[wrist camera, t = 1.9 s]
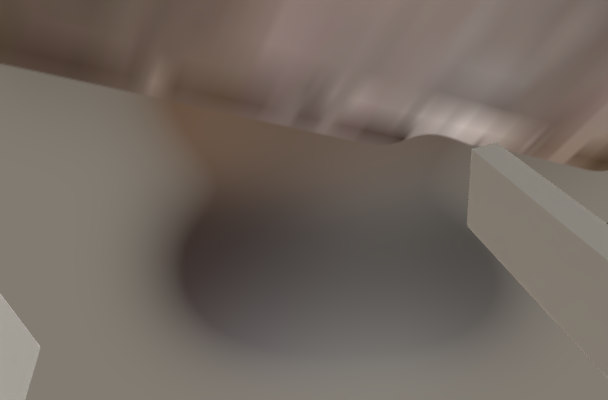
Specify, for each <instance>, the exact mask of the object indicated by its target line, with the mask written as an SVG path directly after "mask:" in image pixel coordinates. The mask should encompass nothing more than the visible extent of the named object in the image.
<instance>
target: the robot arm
mask: <svg viewBox="0 0 608 400" xmlns="http://www.w3.org/2000/svg"><path fill="white" fill-rule="evenodd" d="M467 216H468V217H467V226H468V227H469V228H470V229H471V231H472V232H473V233H474V234H475V235H476V236H477V237H478V238H479V239H480V240H481V241H482V242H483V244H484V245H485V246H486V247H487V248H488V249H489V250H490V251H491V252H492V253H493V255H494V256H495V257H496V258H497V259H498V260H499V261H500V262H501V263H502V264H503V265H504V267H505V268H506V269H507V270H508V271H509V272H510V273H511V274H512V275H513V276H514V277H515V279H516V280H517V281H518V282H519V283H520V284H521V285H522V286H523V287H524V288H525V289H526V290H527V292H528V293H529V294H530V295H531V296H532V297H533V298H534V299H535V300H536V301H537V302H538V304H539V305H540V306H541V307H542V308H543V309H544V310H545V311H546V312H547V313H548V315H549V316H550V317H551V318H552V319H553V320H554V321H555V322H556V323H557V324H558V325H559V327H560V328H561V329H562V330H563V331H564V332H565V333H566V334H567V335H568V336H569V337H570V339H571V340H572V341H573V342H574V343H575V344H576V345H577V346H578V347H579V348H580V349H581V350H582V352H583V353H584V354H585V355H586V356H587V357H588V358H589V359H590V360H591V361H592V363H593V364H594V365H595V366H596V367H597V368H598V369H599V370H600V371H601V372H602V373H603V374H604V376H605V377H606V378H607V379H608V223H605V222H604V221H602V220H601V219H600V218H598V217H597V216H596V215H594V214H593V213H592V212H590V211H589V210H588V209H586V208H585V207H583V206H582V205H581V204H579V203H578V202H577V201H575V200H574V199H573V198H571V197H570V196H568V195H567V194H566V193H564V192H563V191H562V190H560V189H559V188H558V187H556V186H555V185H554V184H552V183H551V182H549V181H548V180H547V179H545V178H544V177H543V176H541V175H540V174H538V173H537V172H536V171H535V170H533V169H532V168H530V167H529V166H528V165H526V164H525V163H524V162H522V161H521V160H519V159H518V158H517V157H516V156H514V155H513V154H511V153H510V152H509V151H507V150H506V149H505V148H503V147H502V146H501V145H499V144H498V143H493V144H489V145H485V146H482V147H478V148H474V149H472V153H471V168H470V184H469V199H468V215H467ZM39 351H40V346H39V344H38V343H37V342H36V340H35V339H34V338H33V336H32V335H31V334H30V332H29V331H28V330H27V328H26V327H25V326H24V324H23V323H22V322H21V320H20V319H19V318H18V316H17V315H16V314H15V312H14V311H13V310H12V308H11V307H10V306H9V304H8V303H7V302H6V300H5V299H4V298H3V297H2V295H1V294H0V400H25V398H26V395H27V392H28V388H29V385H30V381H31V378H32V375H33V371H34V368H35V364H36V361H37V358H38V354H39Z"/></svg>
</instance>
